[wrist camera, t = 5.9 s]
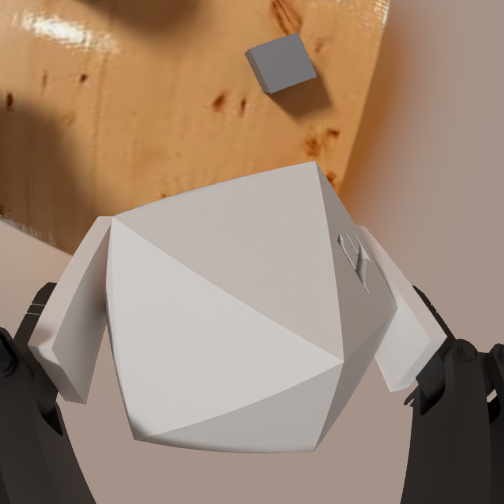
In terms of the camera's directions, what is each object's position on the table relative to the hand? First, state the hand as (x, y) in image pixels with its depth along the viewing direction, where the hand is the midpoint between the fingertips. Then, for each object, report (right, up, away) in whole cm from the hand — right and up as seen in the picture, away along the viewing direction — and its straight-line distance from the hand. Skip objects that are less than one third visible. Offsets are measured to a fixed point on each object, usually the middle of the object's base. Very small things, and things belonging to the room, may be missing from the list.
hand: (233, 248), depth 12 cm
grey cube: (+3, +20, +15) cm, 26 cm away
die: (0, 0, 0) cm, 0 cm away
